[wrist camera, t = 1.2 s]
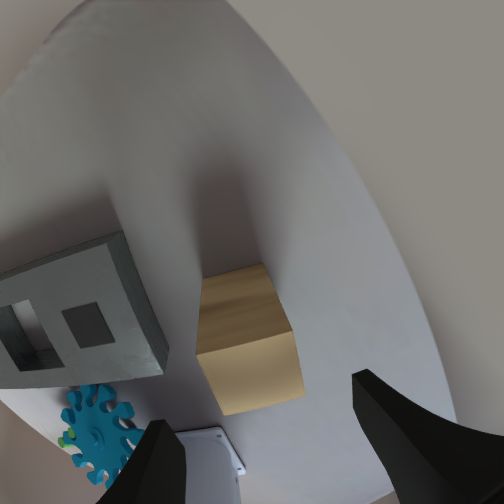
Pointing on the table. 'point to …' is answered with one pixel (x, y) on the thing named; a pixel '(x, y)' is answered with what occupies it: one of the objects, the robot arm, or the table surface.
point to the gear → (99, 432)
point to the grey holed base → (81, 319)
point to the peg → (246, 342)
